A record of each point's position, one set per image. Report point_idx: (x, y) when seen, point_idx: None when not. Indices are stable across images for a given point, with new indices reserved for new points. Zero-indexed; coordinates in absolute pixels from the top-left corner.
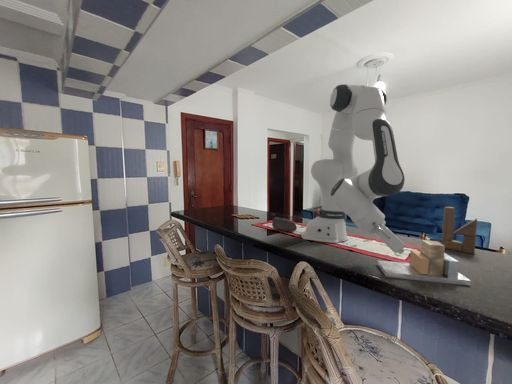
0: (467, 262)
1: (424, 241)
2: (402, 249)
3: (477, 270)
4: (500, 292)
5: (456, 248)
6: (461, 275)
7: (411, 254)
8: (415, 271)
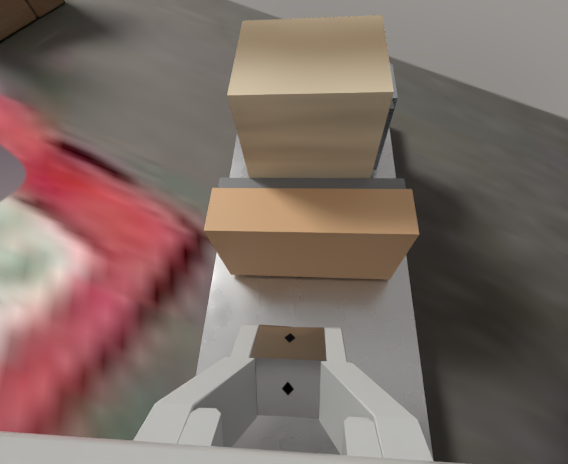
0: (144, 45)
1: (275, 92)
2: (342, 343)
3: (220, 50)
4: (405, 73)
5: (16, 17)
6: None
7: (235, 245)
8: (350, 289)
